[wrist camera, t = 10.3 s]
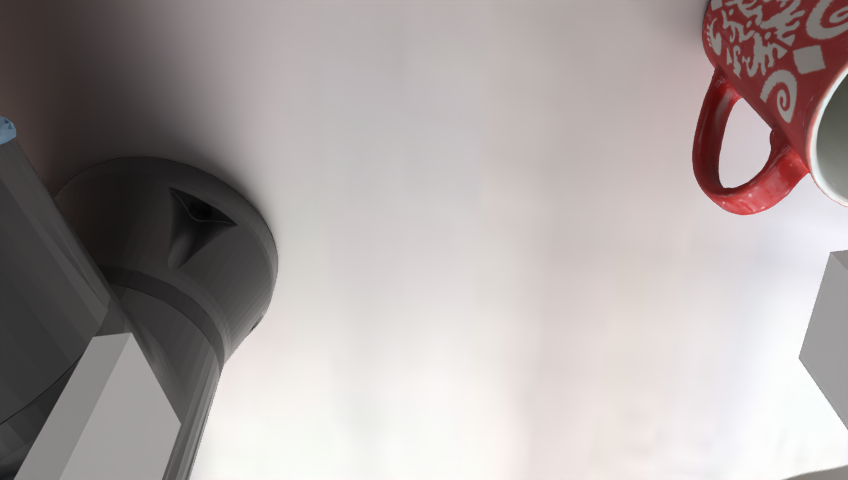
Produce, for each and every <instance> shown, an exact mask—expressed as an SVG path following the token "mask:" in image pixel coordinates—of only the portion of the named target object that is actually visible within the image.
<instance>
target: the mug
mask: <svg viewBox="0 0 848 480" xmlns="http://www.w3.org/2000/svg"><path fill="white" fill-rule="evenodd" d="M702 40H703V46H704V49H705V53H706V55H707V57H708V59H709V61H710V62H711V64H712V65H713V66H714V68H715V71H714V75H713V77H712V80H711V83H710V86H709V89H708V91H707V93H706V96H705V98H704V101H703V105H702V108H701V112H700V115H699V119H698V123H697V127H696V132H695V136H694V143H693V151H692V162H693V170H694V175H695V177H696V180H697V182H698V184H699V186H700V187H701V189H702V190H703V191H704V193H705V194H706V195H707V196H708V197H709V198H710V199H711V200H712V201H713V202H715V203H716V204H717V205H719V206H720V207H721V208H723V209H724V210H726V211H728V212H731V213H734V214H739V215H750V214H755V213H759V212H762V211H764V210H767V209H769V208H771V207H772V206H774V205H775V204H777V203H778V202H779V201H781V200H782V199H783V198H784V197H786V196H787V195H788V194H789V193H790V192H791V190H792V189H793V188H794V187H795V186H796V184H797V183H798V182H799V181H800V180H801V179H802V178H803V177H804V176H805V175H806V174H807V173H810V174H811V176H812V178H813V180H814V182H815V183H816V185H817V186H818V188H820V189H821V191H822V192H823V193H824V194H825V195H827V196H828V197H829V198H830V199H832V200H834V201H835V202H837V203H839V204H841V205H843V206H845V207H848V0H711V2H710V4H709V6H708V9H707V11H706V14H705V17H704V21H703V32H702ZM740 98H744V99H745V100H746V101H747V102H748V104H749V105H750V106H751V107H752V108H753V109H754V110H755V111H756V112H757V113H758V114H759V116H760V117H761V118H762V119H763V120H764V121H765V122H766V123H767V124H768V125H769V127H770V128H771V129H772V131H771V133H770V145H771V152H770V155H769V159H768V161H767V162H766V164H765V166H764V167H763V169H762V170H761V171H760V172H759V173H758V174H757V175H756V176H755V177H754V178H752V179H751V180H750V181H749V182H747V183H745V184H743V185H741V186H738V187H735V188H723V186H722V185H721V183H720V180H719V172H718V170H719V155H720V150H721V145H722V140H723V135H724V131H725V127H726V123H727V120H728V117H729V114H730V112H731V110H732V107H733V106H734V104H735V103H736V102H737V101H738V99H740Z"/></svg>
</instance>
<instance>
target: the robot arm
mask: <svg viewBox="0 0 848 480" xmlns="http://www.w3.org/2000/svg"><path fill="white" fill-rule="evenodd" d="M15 136H17V134H16V129H15V127H14V125H13V123H12V122H11V121H10V120H9V119H7V118H5V117H3V116H0V480H189V479H190V475H191V472H192V469H193V465H194V462H195V459H196V456H197V452H198V449H199V446H200V442H201V439H202V436H203V432H204V429H205V426H206V422H207V419H208V416H209V412H210V409H211V406H212V402H213V399H214V396H215V392H216V389H217V385H218V382H219V378H220V375H221V372H222V369H223V366H224V364H225V363H226V362H227V360H228V359H229V358H230V356H231V355H232V354H233V353H234V351H235V350H236V349H237V348H238V346H239V345H240V344H241V342H242V341H243V340H244V338H245V337H247V336H248V335H249V334H250V333H251V332H252V331H253V330H254V329H255V327H256V326H257V325H258V324H259V323H260V321H261V320H262V318H263V317H264V315H265V313H266V311H267V309H268V307H269V304H270V301H271V298H272V294H273V291H274V287H275V283H276V278H277V272H278V259H277V252H276V247H275V244H274V241H273V238H272V236H271V233H270V231H269V229H268V227H267V226H266V224H265V222H264V221H263V219H262V218H261V216H260V215H259V214H258V212H257V211H256V210H255V209H254V208H253V207H252V205H251V204H250V203H249V202H248V201H247V200H246V199H245V198H244V197H242V196H241V195H240V194H239V193H238V192H236V191H235V190H234V189H232V188H231V187H230V186H228V185H227V184H225V183H224V182H222V181H220V180H219V179H217V178H215V177H213V176H211V175H209V174H207V173H205V172H203V171H201V170H198V169H196V168H193V167H190V166H188V165H184V164H181V163H177V162H173V161H169V160H163V159H156V158H141V157H139V158H122V159H116V160H111V161H107V162H103V163H100V164H97V165H95V166H92V167H90V168H88V169H86V170H84V171H82V172H80V173H79V174H77V175H76V176H75V177H73V178H72V179H71V180H70V181H69V182H67V183H66V184H65V185H64V187H63V188H62V189H61V190H60V191H59V193H58V194H57V195H56V196H55V197H54V198H53V197H52V195H51V194H50V192H49V190H48V189H47V187H46V186H45V184H44V183H43V181H42V180H41V178H40V176H39V175H38V173H37V172H36V170H35V169H34V167H33V165H32V164H31V162H30V161H29V159H28V158H27V156H26V155H25V153H24V151H23V150H22V148H21V147H20V145H19V144H18V142H17V141H16V139H15ZM799 359H800V361H801V362H802V364H803V365H804V367H805V368H806V370H807V371H808V373H809V374H810V375H811V377H812V378H813V380H814V381H815V383H816V384H817V386H818V387H819V389H820V390H821V392H822V393H823V394H824V396H825V397H826V399H827V400H828V402H829V403H830V405H831V406H832V408H833V409H834V411H835V412H836V413H837V415H838V416H839V418H840V419H841V421H842V422H843V424H844V425H845V427H846V428H847V429H848V250H844V251H836V252H830V255H829V259H828V262H827V265H826V269H825V272H824V275H823V279H822V282H821V285H820V289H819V292H818V295H817V299H816V302H815V305H814V308H813V312H812V315H811V318H810V322H809V325H808V328H807V332H806V335H805V338H804V342H803V345H802V348H801V351H800V355H799Z"/></svg>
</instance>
